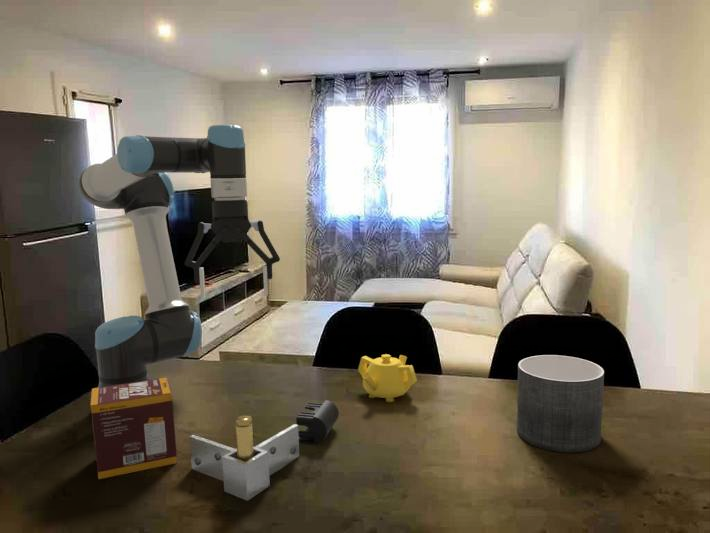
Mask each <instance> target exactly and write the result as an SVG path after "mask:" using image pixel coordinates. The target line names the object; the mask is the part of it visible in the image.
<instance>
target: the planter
mask: <svg viewBox="0 0 710 533" xmlns="http://www.w3.org/2000/svg"><path fill="white" fill-rule="evenodd" d="M604 383H605V370H604V368H603V367H602V366H600V365H599V364H597V363H595V362H593V361H590V360H587V359H583V358H580V357H574V356H567V355H558V354H542V355H541V354H540V355H534V356H532V355H531V356H529V357H526V358H525V357H524V358H523V359H521V360H519V362H518V364H517V405H516V406H517V412H516V413H517V414H516V415H517V416H516V418H517V421H516V432H517V435H518V436H519V437H520V439H522V440H524V441H525V442H526V443H528V444H529V445H532V446H535V447H537V448H540V449H543V450H547V451H549V452H550V451H551V452H558V453H566V454H567V453H575V454H576V453H582V452H588V451H592V450H593V449H596V448H597V447H598V446H600V444H601V443H602V442H601V441H602V422H603V421H602V420H603V405H604V403H603V402H604V387H605V384H604Z"/></svg>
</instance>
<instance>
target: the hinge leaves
mask: <svg viewBox="0 0 710 533" xmlns="http://www.w3.org/2000/svg"><path fill="white" fill-rule="evenodd" d="M298 430H299V425H296V424H295V423H294V424H292V425H290V426H288V427H287V428H285V429H283V430H281V431H280V432H278V433H277V434H275V435H273V436H271V437H269V438H268V439H266V440H264V441H262V442H261V443H258V444H257V445H255V446H253V454H254V457H253V458H251V459H250V460H248V461H246V462H244V461H241V460H239V459H237V448H234V447H230V446H227V445H225V444H222V443H218V442H216V441H214V440H210V439H207V438H205V437H201V436H198V435H196V434H192V435H190V436H189V448H190V460H191V461H190V462H191V463H190V464H191V469H192V470H193V471H196V472H198V473H201V474H204V475H205V476H209V477H211V478H214V479H217V480H219V481H222V482H223V488H224V489H223V491H224V492H225V493H227V494H230V495H232V496H235V497H237V498H239V499H242V500H244V501H249V500H251V499H253V498H254V497H256V496H257V495H258V494H260V493H261V492H263V491H264V490H266V489H267V488H269V487H270V485H271V484H270V480H271V479H270V476H272V475H274V474H275V473H276V472H278V471H279V470H281V469H283V468H284V467H286V466H287V465H289V464H290V463H291V462H293V461H294V460H296V459H298V458H300V446H299V445H300V443H299V438H300V437H299V435H298Z"/></svg>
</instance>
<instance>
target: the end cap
mask: <svg viewBox="0 0 710 533" xmlns="http://www.w3.org/2000/svg"><path fill="white" fill-rule="evenodd" d="M304 409H305V410H310V411H311V412H306V411H305V412H304V411H300V412H299V414H298V415H297V416H296V418H295V420H296V425H298V426H301V427H304V426H305V427H306V428H305V430H302V429H298V435H299V445H301V444H302V445H309V446H312V445H313V446H317V445H319V444H320V443H321V442H323V441H324V440H325V439H326V438H327V436H328V435H329V433H330V431H331V430H332V428H333V427H334V425H335V424H336V422H337V421H338V419H339V415H340V414H339V413H340V412H339V409H338V406H336V404H335V403H333V402H332V401H330V400H327V399H325V400H324V402H323V403H318V402H315V403H314V402H308V403H307V404H306V405H305V407H304Z"/></svg>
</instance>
